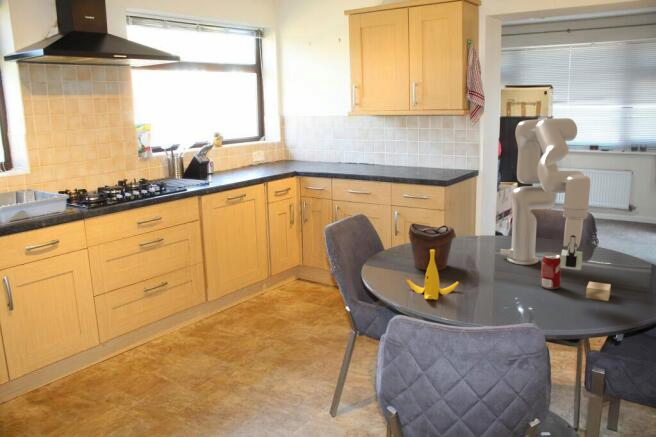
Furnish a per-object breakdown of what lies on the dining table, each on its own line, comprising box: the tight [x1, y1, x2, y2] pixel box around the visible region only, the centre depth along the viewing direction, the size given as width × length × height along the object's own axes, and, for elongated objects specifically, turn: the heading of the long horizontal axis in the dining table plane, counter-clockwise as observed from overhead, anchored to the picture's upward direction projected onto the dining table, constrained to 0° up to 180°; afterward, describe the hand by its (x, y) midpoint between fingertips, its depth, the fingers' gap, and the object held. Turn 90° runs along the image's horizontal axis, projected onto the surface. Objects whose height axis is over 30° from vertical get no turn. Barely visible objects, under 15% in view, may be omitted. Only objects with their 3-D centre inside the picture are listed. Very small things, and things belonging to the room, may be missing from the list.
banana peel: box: [406, 250, 460, 301], centre depth 211 cm, size 17×19×17 cm
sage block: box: [560, 249, 583, 271], centre depth 200 cm, size 6×6×4 cm
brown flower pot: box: [408, 222, 457, 271], centre depth 242 cm, size 18×20×18 cm
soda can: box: [540, 253, 562, 290], centre depth 215 cm, size 7×7×12 cm
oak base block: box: [585, 281, 612, 302], centre depth 206 cm, size 7×7×4 cm
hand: (571, 262), depth 200 cm, fingers closed on sage block, 6 cm apart
